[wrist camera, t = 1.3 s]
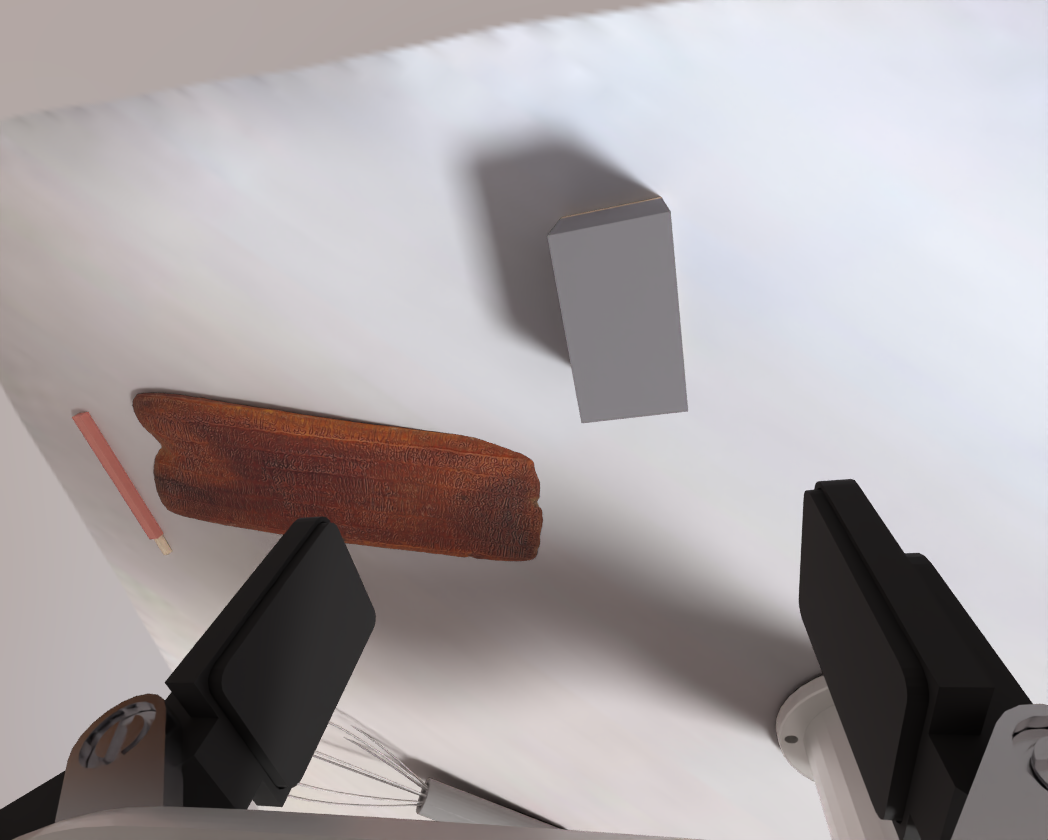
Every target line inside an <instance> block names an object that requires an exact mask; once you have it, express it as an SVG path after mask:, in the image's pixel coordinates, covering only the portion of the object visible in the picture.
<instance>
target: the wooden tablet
mask: <svg viewBox="0 0 1048 840" xmlns="http://www.w3.org/2000/svg"><path fill="white" fill-rule="evenodd" d="M133 408H134V412H135V414H136V416H137V418H138V420H139V422H140V423H141V424H142V426H143V427H144V428H145V429H146V430H147V431H148V432H149V433H151V434H152V435H153V436H154V437H155V438H156V439H157V440H158V442H159V443H160V444H161V446H162V448H161V449H160V450H159V452H158V454H157V455H156V458H155V465H154V476H155V479H154V480H155V483H156V489H157V492H158V495H159V497H160V499H161V502H162V503H163V505H164V506H165V507H166V508H167V510H169V511H171V512H173V513H175V514H178V515H181V516H185V517H189V518H195V519H198V520H203V521H207V522H212V523H218V524H222V525H228V526H234V527H240V528H246V529H252V530H258V531H263V532H270V533H276V534H285V532H286V531H287V530H288V529H289V527H290V526H291V525H292V524H293V523H294V522H295V521H296V520H297V519H299V518H306V517H320V516H323V517H327V518H328V519H329V520H330V522H331V523H335V524H336V525H337V527H338V529H339V531H340V533H341V536H342V538H343V540H344V542H345V543H349V544H358V545H367V546H374V547H382V548H390V549H400V550H409V551H418V552H426V553H432V554H444V555H450V556H458V557H468V556H471V557H474V558H477V559H488V560H502V561H527V560H532V559H534V558H535V557H536V555H537V549H538V547H539V544H540V532H541V528H542V522H543V517H542V510H541V508H540V507H539V506H538V503H537V501H538V499H539V494H540V482H539V479H538V477H537V474H536V472H535V467H534V463H533V461H532V460H531V459H529V458H528V457H526V456H524V455H523V454H521V453H517V452H514V451H512V450H509V449H507V448H504V447H501V446H498V445H496V444H492V443H489V442H486V441H484V440H480V439H477V438H474V437H468V436H463V435H456V434H447V433H439V432H432V431H423V430H416V429H408V428H401V427H393V426H385V425H373V424H366V423H360V422H351V421H345V420H337V419H330V418H323V417H317V416H310V415H302V414H297V413H291V412H285V411H280V410H275V409H265V408H259V407H251V406H246V405H239V404H232V403H227V402H221V401H215V400H210V399H206V398H198V397H191V396H185V395H177V394H165V393H142V394H137V395H136V397H135V398H134V399H133Z"/></svg>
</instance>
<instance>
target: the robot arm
mask: <svg viewBox="0 0 1048 840" xmlns="http://www.w3.org/2000/svg"><path fill="white" fill-rule="evenodd" d="M799 607H800V613H801V617H802V620H803V623H804V625H805V628H806V631H807V633H808V636H809V639H810V641H811V644H812V646H813V649H814V652H815V654H816V657H817V660H818V662H819V665H820V668H821V670H822V673H823V676H820V677H818V678H815V679H813V680H812V681H810V682H808V683H806V684H805V685H803V686H801V687H800V688H799V689H798V690H796V691H795V692H794V693H793V694H792V695H791V696H789V697H788V699H787V700H786V701H785V703H784V704H783V705H782V707H781V708H780V711H779V713H778V716H777V719H776V732H777V737H778V741H779V746H780V748H781V751H782V753H783V755H784V757H785V758H786V760H787V761H788V762H789V764H790V765H791V766H792V767H793V768H794V769H796V770H797V771H798V772H799V773H800V774H802V775H803V776H805V777H807V778H808V779H810V780H812V781H814V782H815V785H816V788H817V791H818V795H819V798H820V802H821V805H822V808H823V812H824V815H825V818H826V822H827V825H828V828H829V832H830V835H831V838H832V840H1048V705H1045V704H1033V703H1032V702H1031V701H1030V699H1029V698H1028V697H1027V695H1026V694H1025V692H1024V691H1023V690H1022V688H1021V687H1020V685H1019V684H1018V683H1017V681H1016V680H1015V678H1014V677H1013V676H1012V674H1011V673H1010V672H1009V670H1008V669H1007V667H1006V666H1005V665H1004V663H1003V662H1002V660H1001V659H1000V658H999V656H998V655H997V654H996V652H995V651H994V649H993V648H992V647H991V645H990V644H989V642H988V641H987V640H986V638H985V637H984V635H983V634H982V633H981V631H980V630H979V629H978V627H977V626H976V624H975V623H974V622H973V620H972V619H971V617H970V616H969V615H968V613H967V612H966V611H965V609H964V608H963V606H962V605H961V604H960V602H959V601H958V599H957V598H956V597H955V595H954V594H953V592H952V591H951V590H950V588H949V587H948V586H947V584H946V583H945V581H944V580H943V579H942V577H941V576H940V574H939V573H938V572H937V570H936V569H935V567H934V566H933V565H932V563H931V562H930V561H929V560H928V559H927V558H926V557H925V556H924V555H922V554H920V553H904V552H903V550H902V549H901V547H900V546H899V544H898V543H897V542H896V540H895V539H894V537H893V536H892V534H891V533H890V531H889V530H888V528H887V527H886V525H885V524H884V522H883V521H882V519H881V518H880V516H879V515H878V513H877V512H876V510H875V509H874V507H873V506H872V504H871V503H870V501H869V500H868V499H867V497H866V496H865V494H864V493H863V491H862V490H861V488H860V487H859V485H858V484H857V483H856V481H855V480H853V479H845V480H831V481H818V482H817V483H816V485H815V489H814V490H806V491H805V493H804V502H803V522H802V543H801V563H800V583H799ZM375 618H376V616H375V610H374V608H373V606H372V603H371V601H370V599H369V597H368V594H367V592H366V590H365V587H364V585H363V583H362V581H361V578H360V576H359V574H358V572H357V569H356V567H355V565H354V563H353V560H352V558H351V556H350V554H349V551H348V549H347V547H346V545H345V542H344V540H343V538H342V536H341V533H340V531H339V529H338V527H337V525H336V524H335V523H331V522H330V520H329V519H328V518H327V517H323V516H320V517H306V518H299V519H297V520H296V521H295V522H294V523H293V524H292V525H291V526H290V527H289V529H288V530H287V531H286V532H285V534H284V535H283V536H282V537H281V539H280V540H279V541H278V542H277V544H276V545H275V546H274V547H273V549H272V550H271V551H270V552H269V554H268V555H267V556H266V557H265V559H264V560H263V561H262V562H261V564H260V565H259V566H258V567H257V568H256V570H255V571H254V572H253V573H252V575H251V576H250V577H249V578H248V580H247V581H246V582H245V583H244V585H243V586H242V587H241V588H240V590H239V591H238V592H237V593H236V595H235V596H234V597H233V598H232V600H231V601H230V602H229V603H228V605H227V606H226V607H225V608H224V609H223V611H222V612H221V613H220V614H219V616H218V617H217V618H216V619H215V621H214V622H213V623H212V624H211V626H210V627H209V628H208V629H207V631H206V632H205V633H204V634H203V636H202V637H201V638H200V639H199V641H198V642H197V643H196V644H195V646H194V647H193V648H192V649H191V650H190V652H189V653H188V654H187V655H186V657H185V658H184V659H183V660H182V662H181V663H180V664H179V665H178V667H177V668H176V669H175V670H174V672H173V673H172V674H171V675H170V677H169V678H168V679H167V680H166V682H165V684H166V685H167V686H168V687H169V689H170V690H171V694H170V695H169V696H168V698H167V699H166V700H164V699H163V698H161V697H160V696H159V695H156V694H144V695H139V696H135V697H133V698H130V699H128V700H126V701H123V702H121V703H120V704H118V705H116V706H115V707H113V708H111V709H110V710H108V711H107V712H106V713H104V714H103V715H102V716H101V717H99V718H98V719H97V720H96V721H95V722H93V723H92V724H91V725H90V727H89V728H88V729H87V730H86V731H85V732H84V733H83V734H82V735H81V736H80V738H79V739H78V741H77V743H76V744H75V745H74V747H73V748H72V751H71V753H70V756H69V758H68V761H67V766H66V770H65V771H64V772H62V773H60V774H59V775H57V776H55V777H54V778H52V779H50V780H49V781H47V782H45V783H44V784H42V785H41V786H39V787H37V788H35V789H34V790H32V791H30V792H29V793H27V794H25V795H24V796H22V797H20V798H19V799H17V800H16V801H14V802H12V803H10V804H9V805H7V806H5V807H4V808H2V809H0V840H702V839H688V838H674V837H660V836H646V835H632V834H618V833H604V832H590V831H576V830H562V829H548V828H533V827H518V826H503V825H488V824H472V823H457V822H442V821H427V820H411V819H396V818H380V817H364V816H348V815H331V814H314V813H297V812H280V811H263V810H247V808H248V806H249V805H250V803H251V801H252V800H253V801H254V802H255V804H256V805H258V806H274V807H283V805H284V803H285V801H286V799H287V797H288V794H289V792H290V790H291V788H293V787H295V786H296V785H297V784H298V783H299V782H300V781H301V779H302V777H303V775H304V773H305V771H306V769H307V767H308V765H309V763H310V760H311V758H312V756H313V754H314V752H315V750H316V748H317V746H318V744H319V742H320V739H321V737H322V735H323V733H324V731H325V729H326V727H327V725H328V723H329V721H330V719H331V716H332V714H333V712H334V710H335V708H336V706H337V704H338V702H339V700H340V698H341V695H342V693H343V691H344V689H345V687H346V685H347V683H348V681H349V679H350V677H351V675H352V672H353V670H354V668H355V666H356V664H357V662H358V660H359V658H360V656H361V654H362V652H363V649H364V647H365V645H366V643H367V641H368V639H369V637H370V635H371V633H372V631H373V628H374V626H375Z"/></svg>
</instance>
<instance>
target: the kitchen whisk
mask: <svg viewBox="0 0 1048 840" xmlns="http://www.w3.org/2000/svg"><path fill="white" fill-rule="evenodd" d="M329 724H331V725H333V726H335V727H337V728H339V729H341V730H343V731H344V732H346V733H348V734H349V735H351V736H353V737H354V738H356V739H358V740H359V741H361V742H363V743H364V744H366V745H367V746H369V747H370V748H372V749H373V750H375V751H376V752H378V753H379V754H381V755H382V756H383V757H385V758H386V759H388V760H389V761H390V762H392V763H393V764H394V765H396V766H397V767H399V768H400V769H401V770H402V771H404V772H405V773H406V774H408V775H409V776H410V777H412V778H413V779H414V780H415V781H414V780H413V779H411V778H410V777H409V776H407V775H406V774H404V773H403V772H401V771H400V770H398V769H397V768H395V767H394V766H393V765H391V764H389V763H388V762H386V761H385V760H383V759H382V758H380V757H379V756H377V755H376V754H374V753H372V752H371V751H369V750H368V749H366V748H364V747H363V746H361V745H359V744H358V743H356V742H354V741H352V740H350V739H347V738H345V737H344V738H345V739H347V740H349V741H351V742H352V743H354V744H356V745H358V746H359V747H361V748H363V749H364V750H366V751H367V752H369V753H371V754H372V755H374V756H376V757H377V758H379V759H380V760H382V761H383V762H385V763H386V764H388V765H389V766H391V767H392V768H394V769H395V770H397V771H398V772H400V773H401V774H403V775H404V776H405V777H407V778H408V779H410V780H411V781H413V782H414V783H415V784H417V785H418V786H419V787H421V788H422V790H421V793H420V792H418V791H415V790H413V789H410V788H408V787H405V786H403V785H400V784H398V783H396V782H393V781H391V780H388V779H386V778H383V777H381V776H378V775H376V774H373V773H371V772H368V771H366V770H363V769H361V768H358V767H356V766H353V765H351V764H348V763H346V762H343V761H341V760H338V759H336V758H333V757H331V756H328V755H326V754H323V753H321V752H318V751H315V753H317V754H320V755H323V756H325V757H328V758H330V759H333V760H335V761H338V762H340V763H343V764H345V765H348V766H350V767H353V768H355V769H358V770H360V771H363V772H365V773H368V774H370V775H373V776H375V777H378V778H380V779H378V778H375V777H373V776H370V775H367V774H364V773H362V772H359V771H356V770H354V769H351V768H348V767H345V766H343V765H340V764H337V763H335V762H332V761H329V760H326V759H324V758H321V757H318V756H316V755H313V757H316V758H319V759H321V760H324V761H327V762H329V763H332V764H335V765H337V766H340V767H343V768H345V769H348V770H351V771H354V772H356V773H359V774H362V775H364V776H367V777H370V778H373V779H375V780H378V781H381V782H384V783H386V784H389V785H392V786H395V787H397V788H400V789H403V790H406V791H408V792H411V793H414V794H417V795H419V799H418V801H412V800H399V799H389V798H379V797H371V796H363V795H356V794H349V793H343V792H337V791H332V790H327V789H322V788H317V787H313V786H310V785H306V784H302V783H298V784H297V785H300V786H304V787H308V788H312V789H317V790H322V791H327V792H332V793H337V794H342V795H348V796H355V797H361V798H369V799H377V800H386V801H397V802H409V803H417V804H408V805H359V804H345V803H332V802H325V801H317V800H310V799H305V798H301V797H296V796H292V795H288V797H291V798H296V799H300V800H305V801H309V802H317V803H325V804H332V805H345V806H360V807H406V806H417V809H416V812H417V814H419V815H422V816H424V817H427V818H430V819H432V820H435V821H442V822H457V823H472V824H488V825H503V826H518V827H533V828H548V829H560V828H557V827H555V826H552V825H550V824H547V823H544V822H542V821H539V820H537V819H534V818H532V817H529V816H526V815H524V814H521V813H519V812H516V811H514V810H511V809H508V808H506V807H503V806H501V805H498V804H496V803H493V802H490V801H488V800H485V799H483V798H480V797H478V796H475V795H472V794H470V793H467V792H465V791H462V790H460V789H457V788H454V787H452V786H449V785H447V784H444V783H442V782H439V781H436V780H434V779H431V778H428V779H427V780H426V782H425V783H424V782H423V781H422V780H421V779H420V778H419V777H417V776H416V775H415V774H414V773H413V772H412V771H411V770H410V769H409V768H408V767H406V766H405V765H404V764H403V763H402V762H401V761H400V760H399V759H397V758H396V757H395V756H394V755H393V754H391V753H390V752H389V751H388V750H386V749H385V748H384V747H383V746H382V745H380V744H379V743H378V742H376V741H375V740H374V739H372V738H371V737H370V736H368V735H367V734H366V733H364V732H363V731H361V730H359V729H358V728H356V727H354V726H352V727H354V728H355V729H357V730H358V731H360V732H361V733H363V734H364V735H365V736H367V737H368V738H369V739H371V740H372V741H373V742H375V743H376V744H377V745H379V746H380V747H381V748H382V749H384V750H385V751H386V752H387V753H389V754H390V755H391V756H392V757H393V758H395V759H396V760H397V761H398V762H399V763H400V764H402V765H403V766H404V767H405V768H406V769H407V770H408V771H409V772H411V773H412V774H413V775H414V776H415V777H416V778H417V779H418V780H419V781H420V782H419V781H418V780H417V779H416V778H414V777H413V776H412V775H411V774H409V773H408V772H407V771H405V770H404V769H403V768H402V767H400V766H399V765H398V764H396V763H395V762H393V761H392V760H391V759H389V758H388V757H387V756H385V755H384V754H382V753H381V752H380V751H378V750H377V749H375V748H374V747H372V746H371V745H369V744H368V743H366V742H365V741H363V740H361V739H360V738H358V737H356V736H355V735H353V734H351V733H350V732H348V731H346V730H345V729H343V728H341V727H339V726H337V725H336V724H334V723H332V722H330V721H329ZM381 779H383V780H381ZM384 780H385V781H384ZM386 781H388V782H386ZM389 782H390V783H389ZM417 782H418V783H419V784H418V783H417ZM392 783H393V784H392ZM397 785H398V786H397ZM422 786H423V787H422Z"/></svg>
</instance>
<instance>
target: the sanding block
mask: <svg viewBox="0 0 1048 840" xmlns="http://www.w3.org/2000/svg"><path fill="white" fill-rule="evenodd" d="M547 238H548V244H549V249H550V254H551V260H552V265H553V271H554V276H555V282H556V287H557V292H558V298H559V303H560V309H561V314H562V320H563V325H564V330H565V336H566V341H567V347H568V352H569V358H570V363H571V368H572V374H573V379H574V385H575V390H576V396H577V401H578V406H579V412H580V417H581V423H589V422H598V421H606V420H615V419H624V418H633V417H642V416H651V415H660V414H668V413H677V412H686V411H688V405H687V393H686V382H685V370H684V359H683V348H682V336H681V325H680V313H679V302H678V291H677V279H676V268H675V257H674V245H673V234H672V222H671V211H670V210H669V208H668V207H667V205H666V204H665V202H664V201H663V199H662V197H658V198H653V199H648V200H643V201H638V202H633V203H628V204H624V205H619V206H614V207H609V208H604V209H599V210H594V211H590V212H585V213H580V214H575V215H570V216H565V217H561V218H560V220H559V221H558V222H557V224H556V225H555V226H554V228H553V229H552V230H551V231H550V233H549V234H548V235H547Z"/></svg>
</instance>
